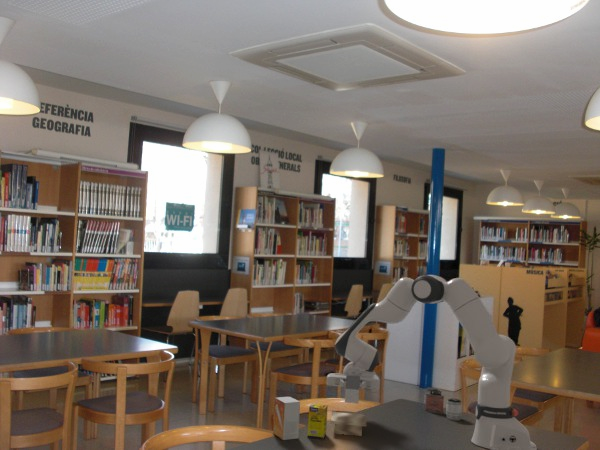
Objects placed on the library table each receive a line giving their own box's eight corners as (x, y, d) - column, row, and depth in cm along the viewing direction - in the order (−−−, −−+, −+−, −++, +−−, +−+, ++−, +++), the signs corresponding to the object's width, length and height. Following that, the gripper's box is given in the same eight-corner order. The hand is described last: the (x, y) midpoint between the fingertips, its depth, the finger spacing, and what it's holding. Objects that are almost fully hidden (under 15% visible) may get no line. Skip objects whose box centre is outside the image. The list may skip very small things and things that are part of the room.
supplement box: (323, 439, 229) (325, 408, 229) (307, 437, 230) (308, 406, 230) (326, 435, 234) (328, 404, 235) (310, 433, 236) (311, 403, 236)
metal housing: (358, 400, 244) (360, 373, 244) (358, 403, 239) (360, 376, 239) (345, 399, 244) (346, 372, 244) (344, 402, 239) (346, 375, 239)
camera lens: (450, 415, 273) (451, 397, 273) (464, 419, 269) (464, 399, 269) (443, 418, 268) (444, 399, 268) (457, 421, 264) (457, 402, 264)
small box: (272, 433, 232) (274, 397, 233) (288, 432, 235) (290, 396, 236) (282, 440, 225) (284, 402, 226) (298, 438, 228) (300, 401, 229)
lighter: (444, 412, 277) (445, 389, 278) (441, 414, 275) (442, 390, 275) (426, 409, 282) (427, 386, 282) (423, 410, 279) (424, 387, 279)
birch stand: (365, 427, 247) (366, 414, 247) (365, 437, 234) (366, 423, 234) (331, 425, 248) (332, 411, 248) (329, 434, 235) (330, 420, 235)
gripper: (327, 368, 256) (325, 374, 242) (379, 372, 254) (380, 379, 240) (326, 384, 255) (324, 391, 242) (378, 388, 253) (379, 396, 240)
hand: (352, 385), depth 241 cm, fingers closed on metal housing, 5 cm apart
